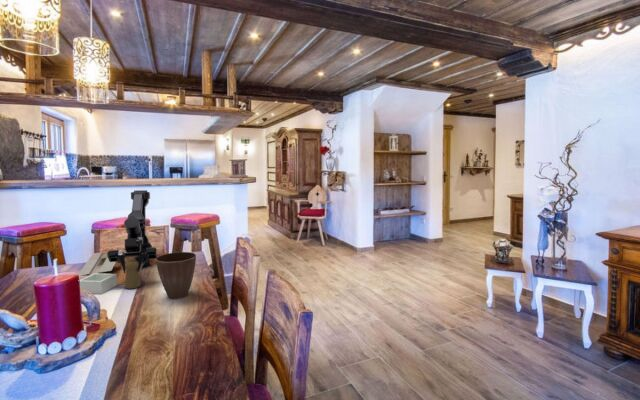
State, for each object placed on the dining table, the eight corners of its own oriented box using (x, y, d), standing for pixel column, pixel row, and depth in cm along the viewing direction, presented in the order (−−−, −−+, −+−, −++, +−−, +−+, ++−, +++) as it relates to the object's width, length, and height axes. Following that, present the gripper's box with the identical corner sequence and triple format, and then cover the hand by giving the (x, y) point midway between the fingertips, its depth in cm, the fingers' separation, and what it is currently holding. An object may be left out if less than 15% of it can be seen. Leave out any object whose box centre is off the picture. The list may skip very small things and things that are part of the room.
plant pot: (158, 305, 129) (156, 263, 127) (156, 292, 142) (154, 254, 141) (199, 298, 136) (198, 259, 134) (194, 286, 149) (193, 250, 147)
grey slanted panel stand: (121, 279, 169) (129, 254, 179) (111, 270, 163) (120, 244, 173) (88, 284, 169) (97, 258, 179) (77, 275, 162) (87, 249, 173)
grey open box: (94, 284, 150) (94, 273, 150) (117, 285, 150) (116, 273, 150) (77, 293, 141) (77, 281, 140) (101, 293, 140) (101, 281, 140)
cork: (128, 283, 151) (127, 259, 149) (143, 283, 151) (142, 258, 150) (122, 288, 145) (120, 263, 143) (137, 288, 145) (136, 263, 144)
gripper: (106, 231, 146) (102, 264, 137) (155, 229, 152) (154, 260, 143) (111, 245, 154) (107, 277, 145) (157, 242, 160) (156, 273, 151)
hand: (131, 272), depth 146 cm, fingers closed on cork, 5 cm apart
